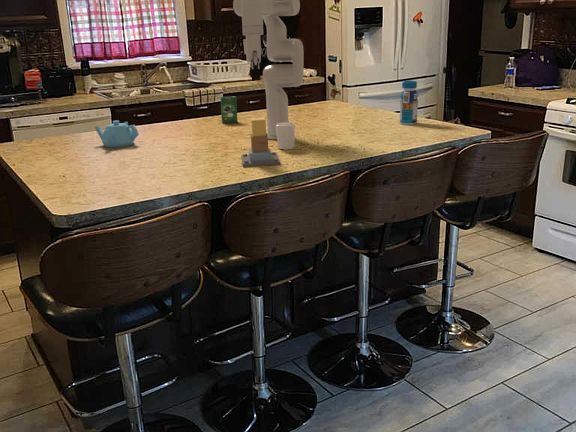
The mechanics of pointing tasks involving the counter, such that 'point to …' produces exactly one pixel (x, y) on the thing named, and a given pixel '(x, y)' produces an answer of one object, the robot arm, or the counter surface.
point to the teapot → (117, 134)
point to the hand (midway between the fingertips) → (255, 78)
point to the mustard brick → (258, 126)
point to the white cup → (285, 135)
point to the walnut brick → (259, 143)
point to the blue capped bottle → (408, 103)
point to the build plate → (260, 163)
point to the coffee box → (229, 109)
